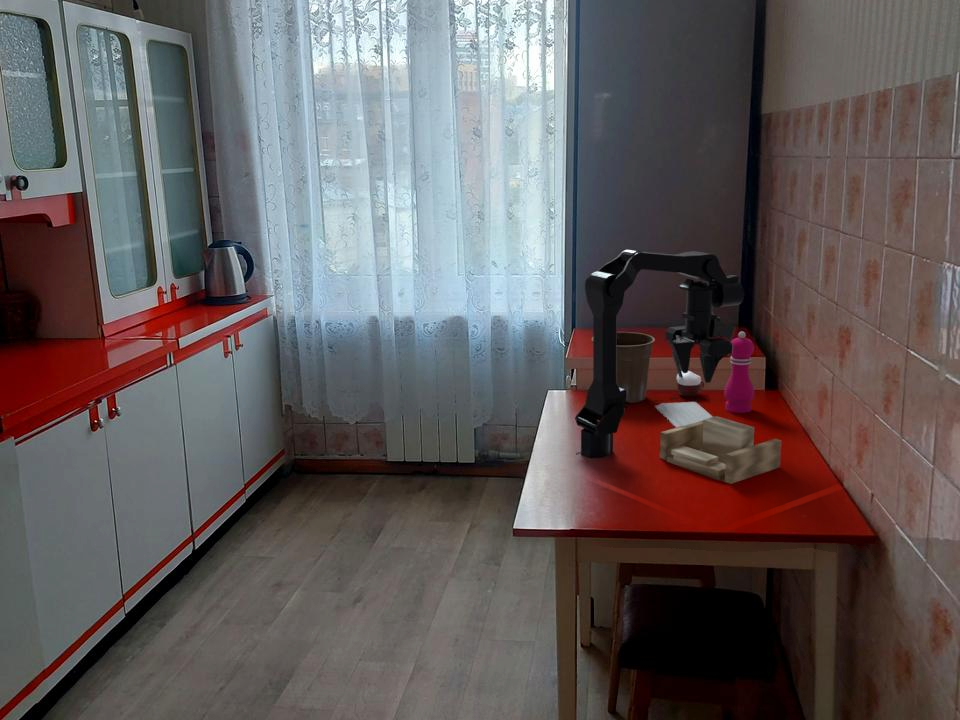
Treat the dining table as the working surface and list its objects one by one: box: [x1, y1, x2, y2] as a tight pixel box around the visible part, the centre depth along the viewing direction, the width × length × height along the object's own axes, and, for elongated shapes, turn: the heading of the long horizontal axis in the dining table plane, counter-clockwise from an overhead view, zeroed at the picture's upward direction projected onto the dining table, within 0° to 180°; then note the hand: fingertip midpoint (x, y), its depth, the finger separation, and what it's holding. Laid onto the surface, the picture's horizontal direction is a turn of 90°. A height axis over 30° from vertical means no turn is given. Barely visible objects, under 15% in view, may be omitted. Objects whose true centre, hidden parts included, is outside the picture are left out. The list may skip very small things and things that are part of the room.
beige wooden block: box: [702, 415, 755, 464], centre depth 192 cm, size 4×10×8 cm, turn 35°
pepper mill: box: [723, 331, 755, 414], centre depth 228 cm, size 7×7×20 cm
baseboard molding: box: [650, 397, 713, 428], centre depth 220 cm, size 31×3×12 cm
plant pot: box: [591, 331, 656, 404], centre depth 241 cm, size 16×16×16 cm
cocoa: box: [671, 351, 705, 398], centre depth 243 cm, size 10×6×12 cm, turn 86°
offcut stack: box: [666, 446, 726, 482], centre depth 188 cm, size 4×14×3 cm, turn 35°
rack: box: [659, 421, 782, 485], centre depth 191 cm, size 15×19×6 cm
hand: (696, 377), depth 207 cm, fingers open, 9 cm apart
